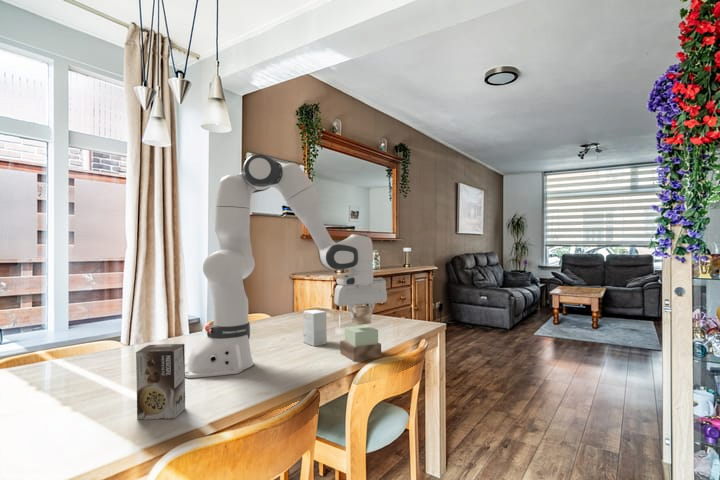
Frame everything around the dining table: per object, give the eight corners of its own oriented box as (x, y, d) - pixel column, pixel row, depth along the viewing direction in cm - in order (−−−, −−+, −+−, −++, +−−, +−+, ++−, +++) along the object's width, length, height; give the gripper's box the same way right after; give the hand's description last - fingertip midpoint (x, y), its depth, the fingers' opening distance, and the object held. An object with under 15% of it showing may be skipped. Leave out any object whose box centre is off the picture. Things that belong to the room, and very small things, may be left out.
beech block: (358, 324, 139) (358, 307, 139) (352, 322, 143) (352, 305, 143) (370, 323, 141) (370, 306, 141) (364, 320, 145) (364, 304, 145)
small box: (327, 343, 158) (326, 311, 158) (313, 346, 154) (313, 313, 154) (316, 340, 164) (315, 309, 164) (303, 342, 160) (302, 310, 160)
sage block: (355, 346, 136) (355, 332, 136) (345, 341, 144) (345, 327, 144) (378, 343, 140) (378, 329, 140) (367, 338, 148) (366, 325, 148)
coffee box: (186, 407, 98) (186, 343, 98) (175, 419, 91) (174, 350, 91) (149, 408, 97) (149, 343, 97) (135, 420, 91) (135, 351, 91)
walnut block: (353, 362, 134) (353, 348, 134) (340, 354, 144) (340, 341, 144) (381, 357, 140) (381, 343, 140) (366, 350, 149) (366, 337, 149)
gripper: (381, 276, 150) (381, 312, 150) (332, 279, 140) (332, 317, 140) (390, 277, 144) (390, 315, 144) (339, 280, 135) (339, 320, 135)
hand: (361, 316), depth 142 cm, fingers closed on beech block, 5 cm apart
